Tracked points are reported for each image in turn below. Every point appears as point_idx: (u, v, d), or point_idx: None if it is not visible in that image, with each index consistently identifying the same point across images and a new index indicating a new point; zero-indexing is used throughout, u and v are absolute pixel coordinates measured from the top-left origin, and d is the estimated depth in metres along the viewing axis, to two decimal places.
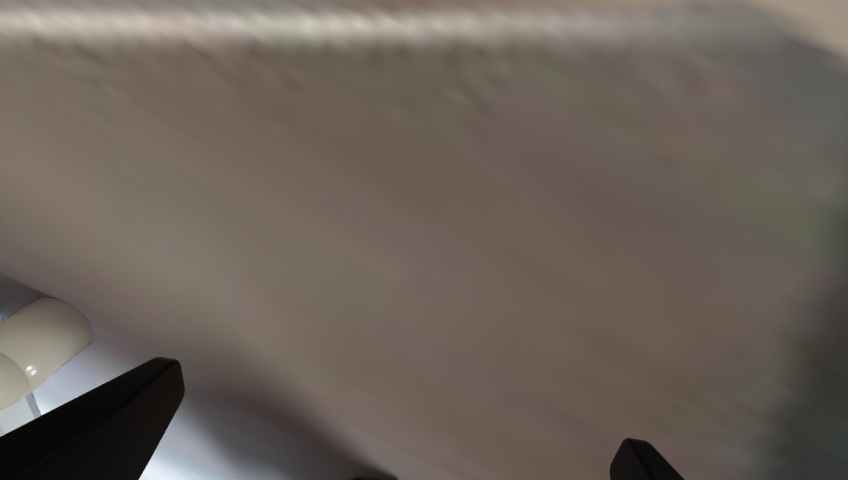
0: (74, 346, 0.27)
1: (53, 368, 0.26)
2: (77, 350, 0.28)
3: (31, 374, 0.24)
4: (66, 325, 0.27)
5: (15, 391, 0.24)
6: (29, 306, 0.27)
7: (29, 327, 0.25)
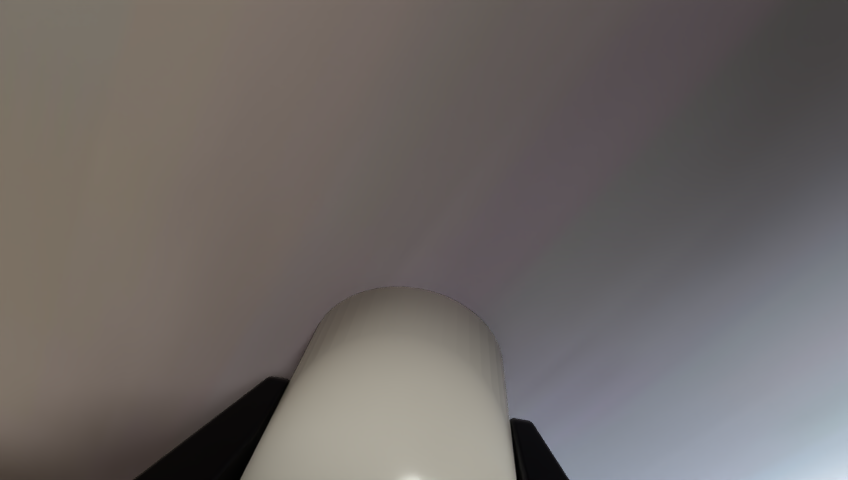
0: (422, 337, 0.07)
1: (439, 420, 0.06)
2: (453, 340, 0.07)
3: None
4: (338, 331, 0.08)
5: None
6: None
7: (270, 420, 0.07)
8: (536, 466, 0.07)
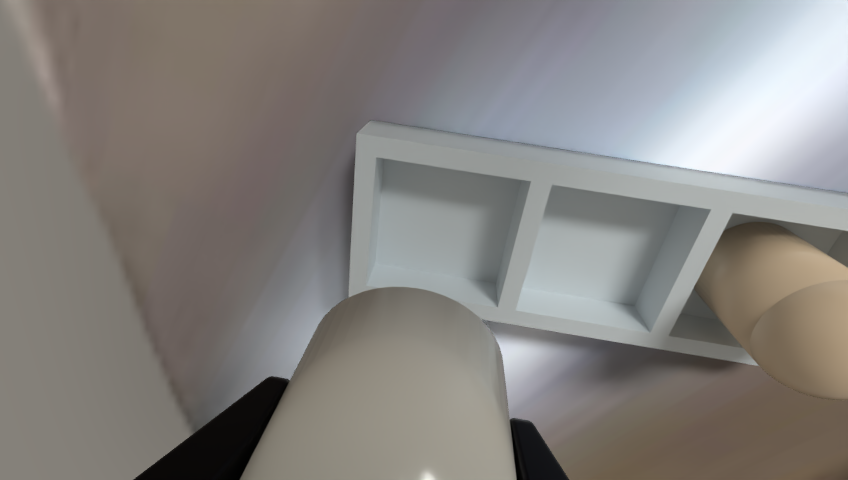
0: (422, 337, 0.07)
1: (439, 421, 0.06)
2: (453, 340, 0.07)
3: None
4: (338, 331, 0.08)
5: None
6: None
7: (270, 420, 0.07)
8: (536, 466, 0.07)
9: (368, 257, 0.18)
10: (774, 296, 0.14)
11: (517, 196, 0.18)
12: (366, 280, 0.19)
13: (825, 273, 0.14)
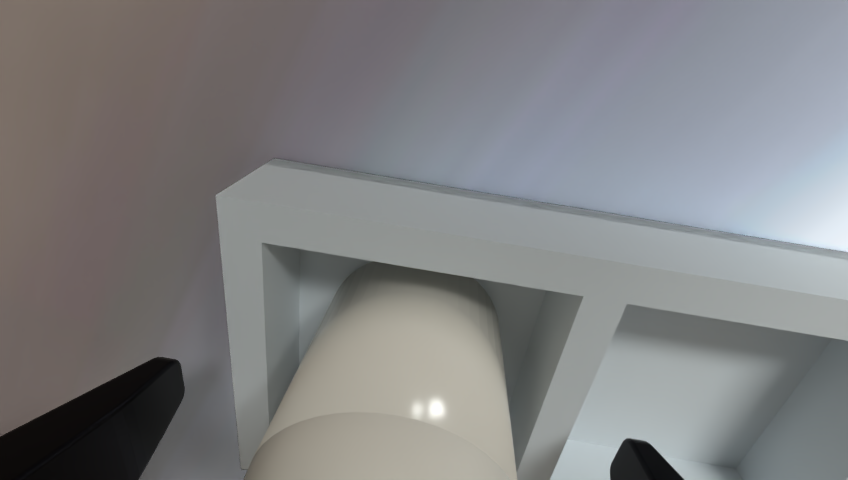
0: (429, 292, 0.08)
1: (445, 351, 0.07)
2: (455, 296, 0.09)
3: (386, 401, 0.06)
4: (357, 290, 0.09)
5: (404, 474, 0.05)
6: None
7: (302, 360, 0.08)
8: None
9: (269, 411, 0.10)
10: None
11: (544, 298, 0.10)
12: None
13: None
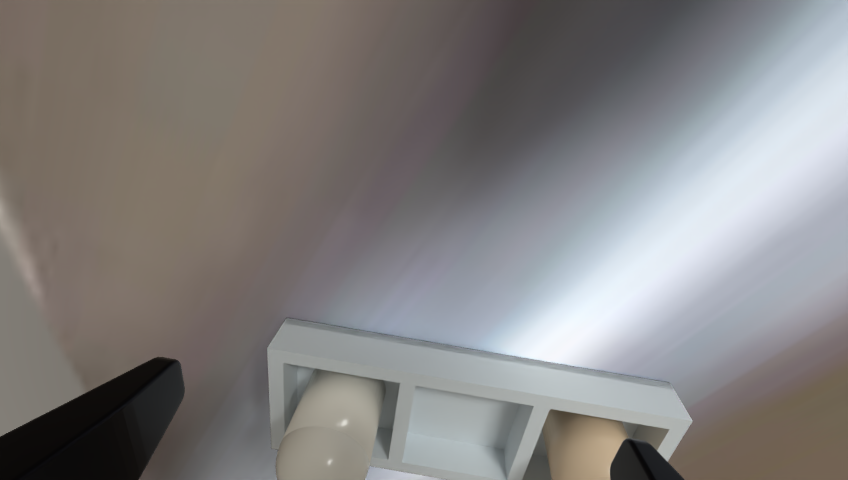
0: (347, 377, 0.22)
1: (347, 404, 0.20)
2: (359, 378, 0.22)
3: (323, 422, 0.19)
4: (320, 375, 0.22)
5: (325, 444, 0.18)
6: None
7: (298, 405, 0.21)
8: None
9: (284, 423, 0.23)
10: None
11: None
12: None
13: (603, 468, 0.19)
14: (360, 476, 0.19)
